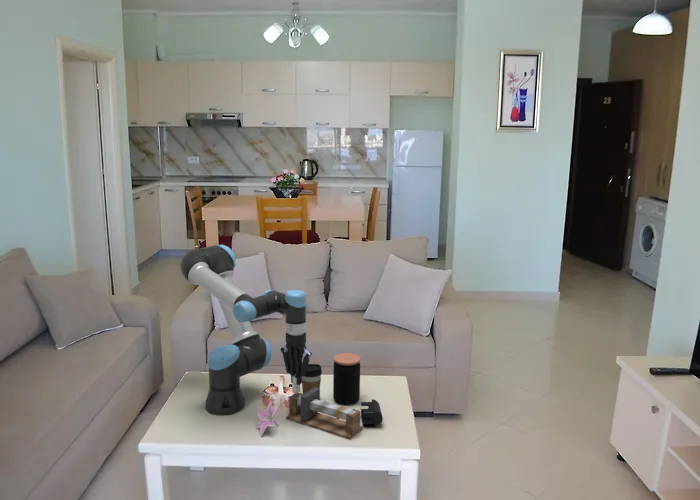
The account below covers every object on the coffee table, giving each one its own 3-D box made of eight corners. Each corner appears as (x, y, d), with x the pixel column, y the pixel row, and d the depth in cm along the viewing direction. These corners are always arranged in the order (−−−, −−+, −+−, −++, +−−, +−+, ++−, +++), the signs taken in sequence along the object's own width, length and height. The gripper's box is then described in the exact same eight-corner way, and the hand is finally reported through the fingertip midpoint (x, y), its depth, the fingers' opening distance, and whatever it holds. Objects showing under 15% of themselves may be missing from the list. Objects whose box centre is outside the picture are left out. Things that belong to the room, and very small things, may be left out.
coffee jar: (364, 397, 244) (365, 355, 240) (352, 408, 235) (352, 365, 231) (341, 392, 249) (341, 350, 245) (328, 402, 239) (328, 359, 235)
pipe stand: (285, 418, 226) (285, 398, 224) (300, 409, 233) (299, 389, 231) (349, 439, 212) (350, 418, 210) (362, 428, 219) (363, 408, 217)
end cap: (382, 428, 220) (383, 411, 219) (363, 428, 220) (363, 411, 218) (379, 415, 230) (379, 398, 228) (360, 415, 229) (360, 399, 228)
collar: (300, 418, 222) (300, 396, 220) (314, 409, 229) (314, 387, 227) (306, 420, 221) (306, 397, 219) (319, 410, 228) (319, 388, 226)
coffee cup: (318, 407, 235) (318, 371, 231) (297, 405, 236) (297, 369, 233) (323, 398, 243) (324, 363, 240) (303, 396, 244) (303, 361, 241)
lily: (260, 421, 226) (249, 405, 221) (289, 411, 224) (278, 394, 219) (259, 446, 215) (247, 429, 210) (289, 436, 214) (278, 418, 209)
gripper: (275, 332, 222) (276, 391, 227) (304, 338, 215) (304, 399, 220) (287, 326, 228) (288, 384, 233) (316, 332, 221) (316, 392, 226)
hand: (296, 391), depth 227 cm, fingers closed
